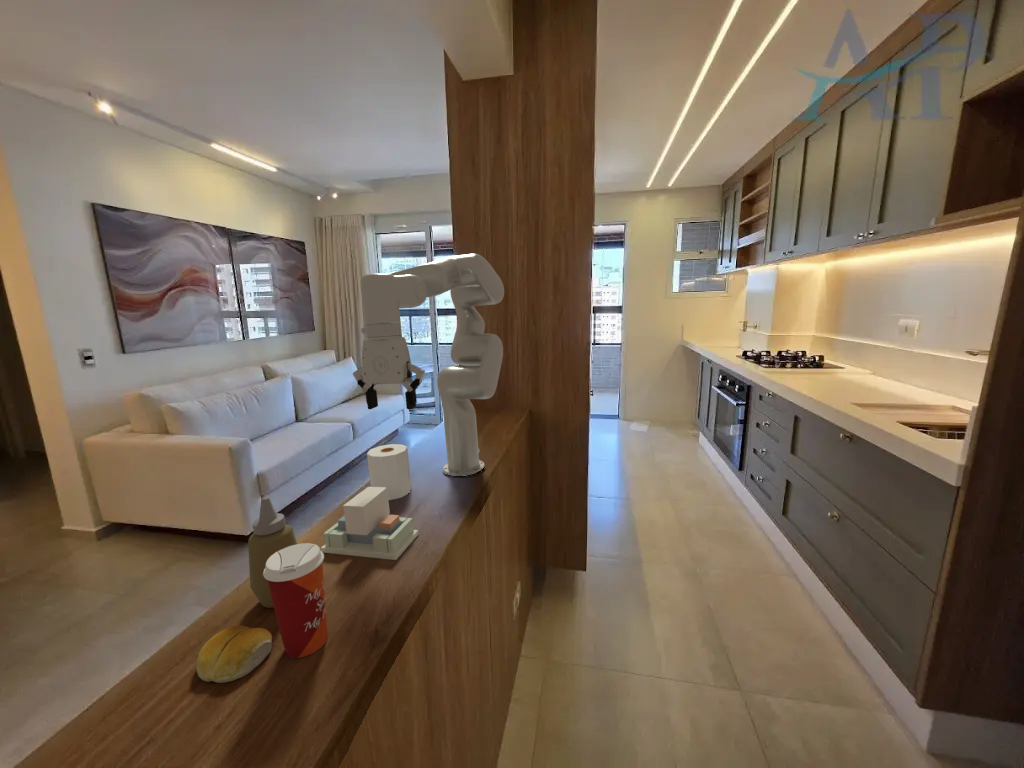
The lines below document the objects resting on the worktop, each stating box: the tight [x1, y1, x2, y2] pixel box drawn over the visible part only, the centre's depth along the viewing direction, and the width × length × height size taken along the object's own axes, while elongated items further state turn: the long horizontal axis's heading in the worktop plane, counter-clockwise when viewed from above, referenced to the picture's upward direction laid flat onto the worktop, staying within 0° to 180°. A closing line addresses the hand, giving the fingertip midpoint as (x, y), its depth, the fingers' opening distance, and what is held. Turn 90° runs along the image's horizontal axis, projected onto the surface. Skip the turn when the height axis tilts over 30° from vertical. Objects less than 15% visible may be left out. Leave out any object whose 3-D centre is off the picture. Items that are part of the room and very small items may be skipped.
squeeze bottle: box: [247, 497, 298, 609], centre depth 70 cm, size 8×8×18 cm
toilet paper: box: [366, 443, 412, 501], centre depth 111 cm, size 10×10×12 cm
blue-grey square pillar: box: [337, 514, 401, 544], centre depth 87 cm, size 4×12×5 cm, turn 76°
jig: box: [320, 516, 419, 561], centre depth 87 cm, size 10×17×4 cm, turn 76°
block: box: [342, 486, 391, 535], centre depth 86 cm, size 9×4×6 cm, turn 167°
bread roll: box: [196, 624, 273, 684], centre depth 58 cm, size 8×9×4 cm
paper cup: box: [263, 542, 328, 659], centre depth 60 cm, size 8×8×14 cm
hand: (392, 407), depth 94 cm, fingers open, 9 cm apart
